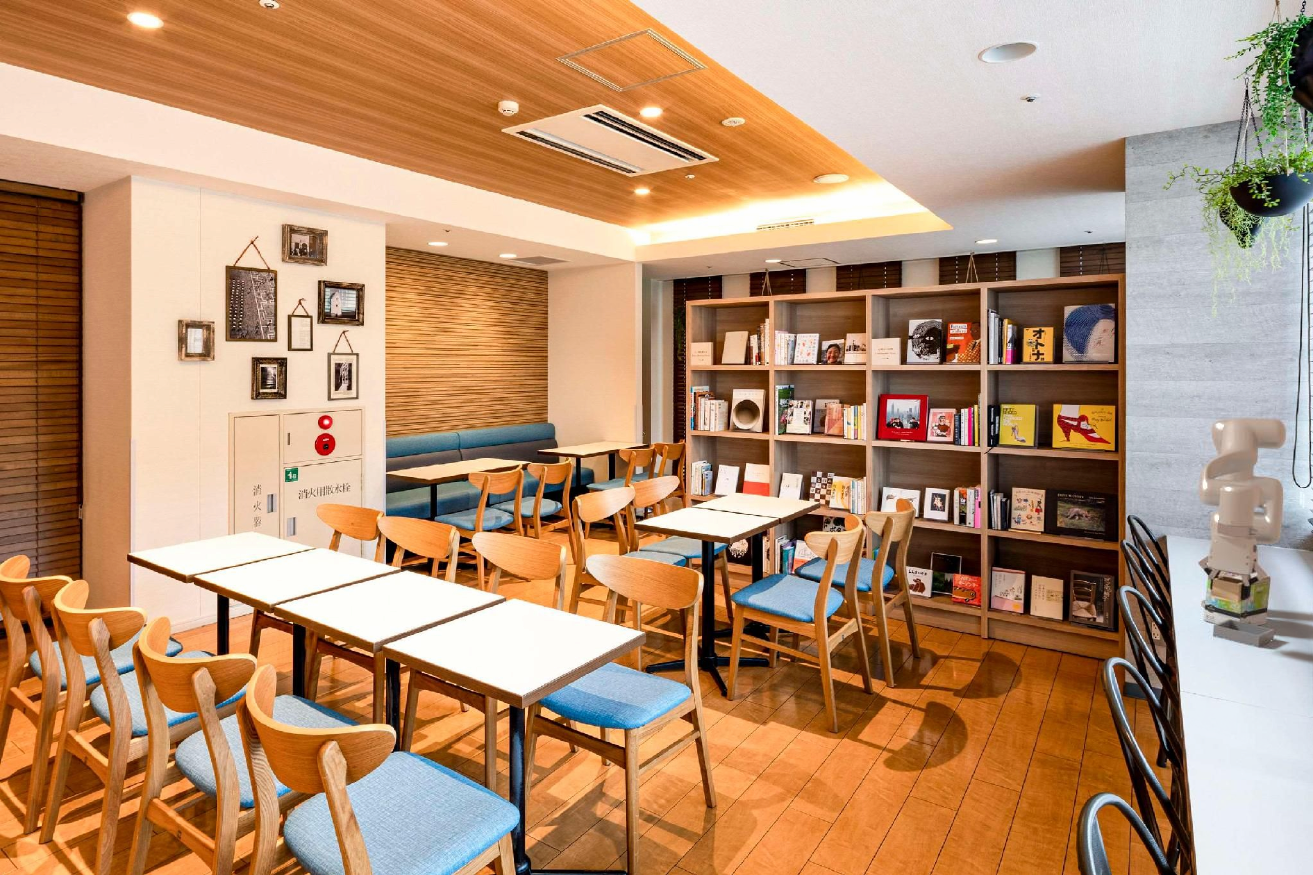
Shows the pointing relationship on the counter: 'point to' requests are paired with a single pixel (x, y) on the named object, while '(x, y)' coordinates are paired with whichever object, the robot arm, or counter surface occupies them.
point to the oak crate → (1227, 589)
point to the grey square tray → (1243, 632)
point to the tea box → (1243, 611)
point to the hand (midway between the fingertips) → (1229, 595)
